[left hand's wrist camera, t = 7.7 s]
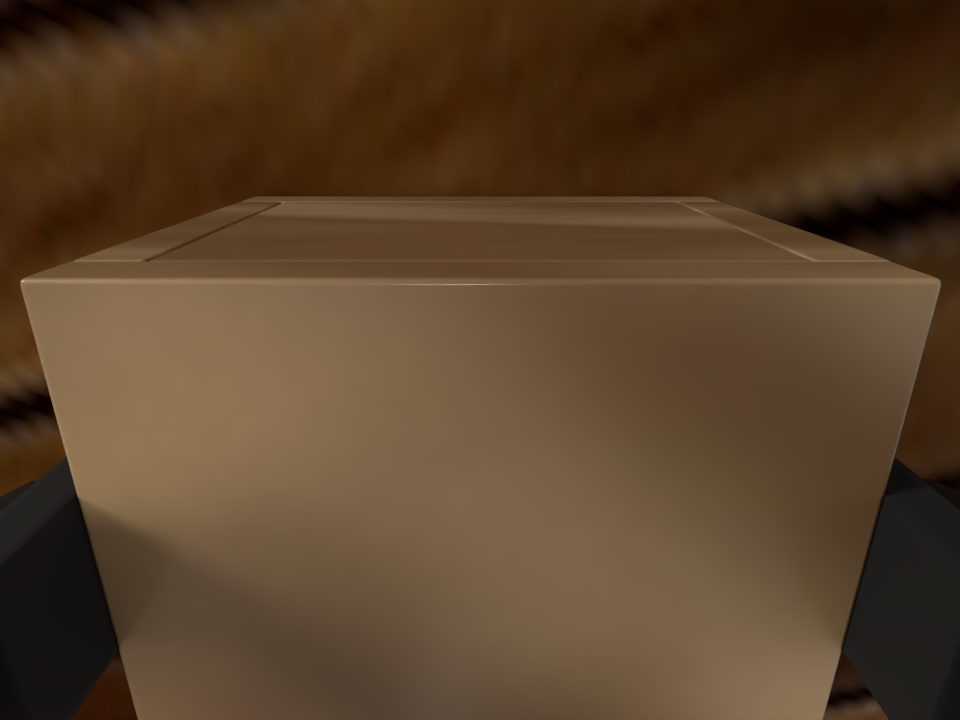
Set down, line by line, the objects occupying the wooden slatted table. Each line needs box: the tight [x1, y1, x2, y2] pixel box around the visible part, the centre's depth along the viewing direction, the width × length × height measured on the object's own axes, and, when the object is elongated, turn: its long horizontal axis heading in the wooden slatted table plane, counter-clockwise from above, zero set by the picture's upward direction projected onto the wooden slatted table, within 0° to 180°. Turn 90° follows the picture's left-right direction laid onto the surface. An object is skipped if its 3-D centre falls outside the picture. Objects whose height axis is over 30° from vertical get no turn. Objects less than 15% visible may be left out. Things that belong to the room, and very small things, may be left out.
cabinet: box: [20, 196, 941, 720], centre depth 14 cm, size 16×11×8 cm, turn 0°
